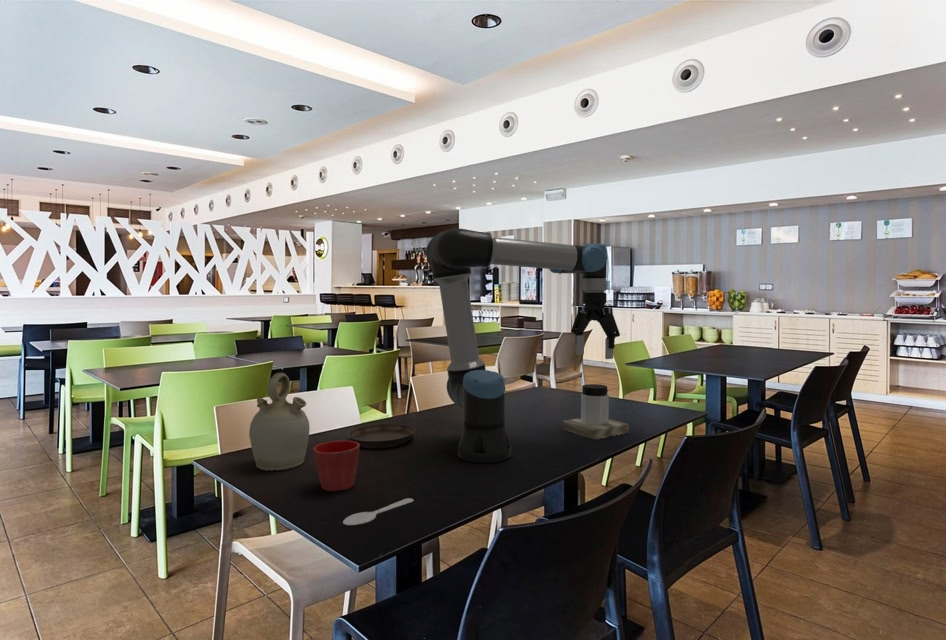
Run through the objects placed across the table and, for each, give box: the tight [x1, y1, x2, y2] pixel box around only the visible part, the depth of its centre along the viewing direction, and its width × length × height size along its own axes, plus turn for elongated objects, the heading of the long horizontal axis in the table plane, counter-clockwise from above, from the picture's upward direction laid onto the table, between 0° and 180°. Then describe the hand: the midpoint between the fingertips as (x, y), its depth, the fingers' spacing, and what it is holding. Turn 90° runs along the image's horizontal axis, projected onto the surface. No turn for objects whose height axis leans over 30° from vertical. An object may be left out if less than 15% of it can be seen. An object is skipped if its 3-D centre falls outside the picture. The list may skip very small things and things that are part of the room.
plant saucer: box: [347, 423, 416, 449], centre depth 173 cm, size 21×21×3 cm
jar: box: [580, 383, 610, 425], centre depth 183 cm, size 9×8×12 cm
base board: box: [562, 417, 630, 441], centre depth 183 cm, size 15×15×3 cm
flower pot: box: [313, 440, 361, 492], centre depth 133 cm, size 11×11×10 cm
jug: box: [248, 372, 310, 472], centre depth 150 cm, size 15×16×25 cm
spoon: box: [342, 497, 414, 526], centre depth 118 cm, size 5×18×1 cm, turn 137°
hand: (594, 356), depth 182 cm, fingers open, 13 cm apart
